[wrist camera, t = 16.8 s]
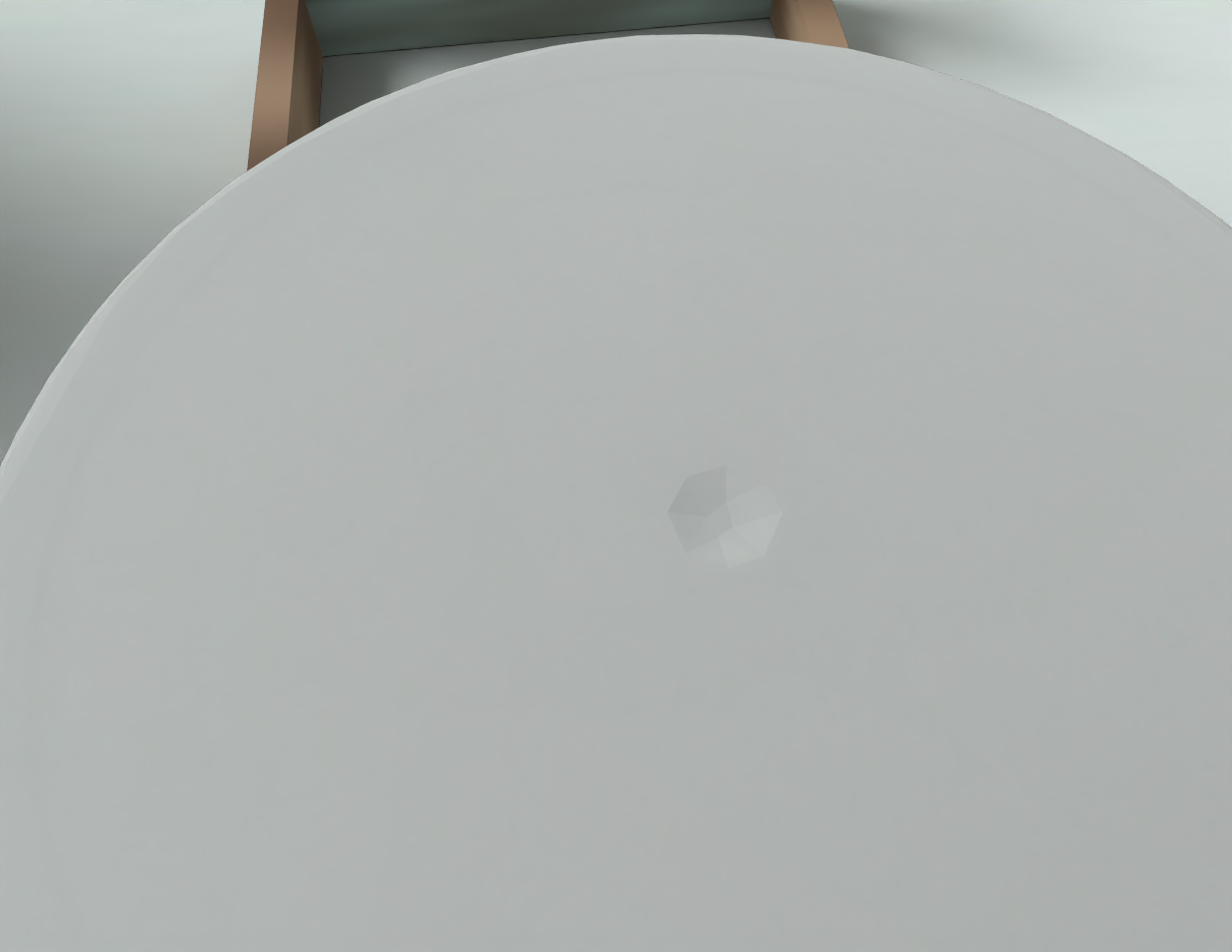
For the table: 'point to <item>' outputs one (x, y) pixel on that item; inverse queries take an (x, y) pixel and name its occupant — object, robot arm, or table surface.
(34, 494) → the supplement tub
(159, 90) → the table surface
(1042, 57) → the table surface
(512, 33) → the bracket
